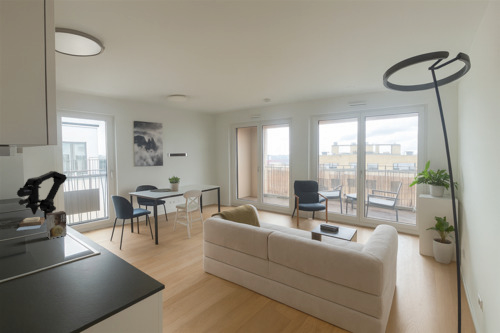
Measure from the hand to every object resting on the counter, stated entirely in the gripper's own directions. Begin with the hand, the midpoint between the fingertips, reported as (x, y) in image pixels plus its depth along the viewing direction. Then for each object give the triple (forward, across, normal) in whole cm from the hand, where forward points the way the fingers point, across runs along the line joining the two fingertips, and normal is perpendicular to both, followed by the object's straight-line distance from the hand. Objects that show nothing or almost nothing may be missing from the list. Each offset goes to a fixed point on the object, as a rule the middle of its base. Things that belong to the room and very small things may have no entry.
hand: (34, 214), depth 184 cm
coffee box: (+6, +45, +19) cm, 49 cm away
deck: (+6, +5, 0) cm, 8 cm away
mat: (+6, +16, 0) cm, 17 cm away
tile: (+3, +8, 0) cm, 8 cm away
